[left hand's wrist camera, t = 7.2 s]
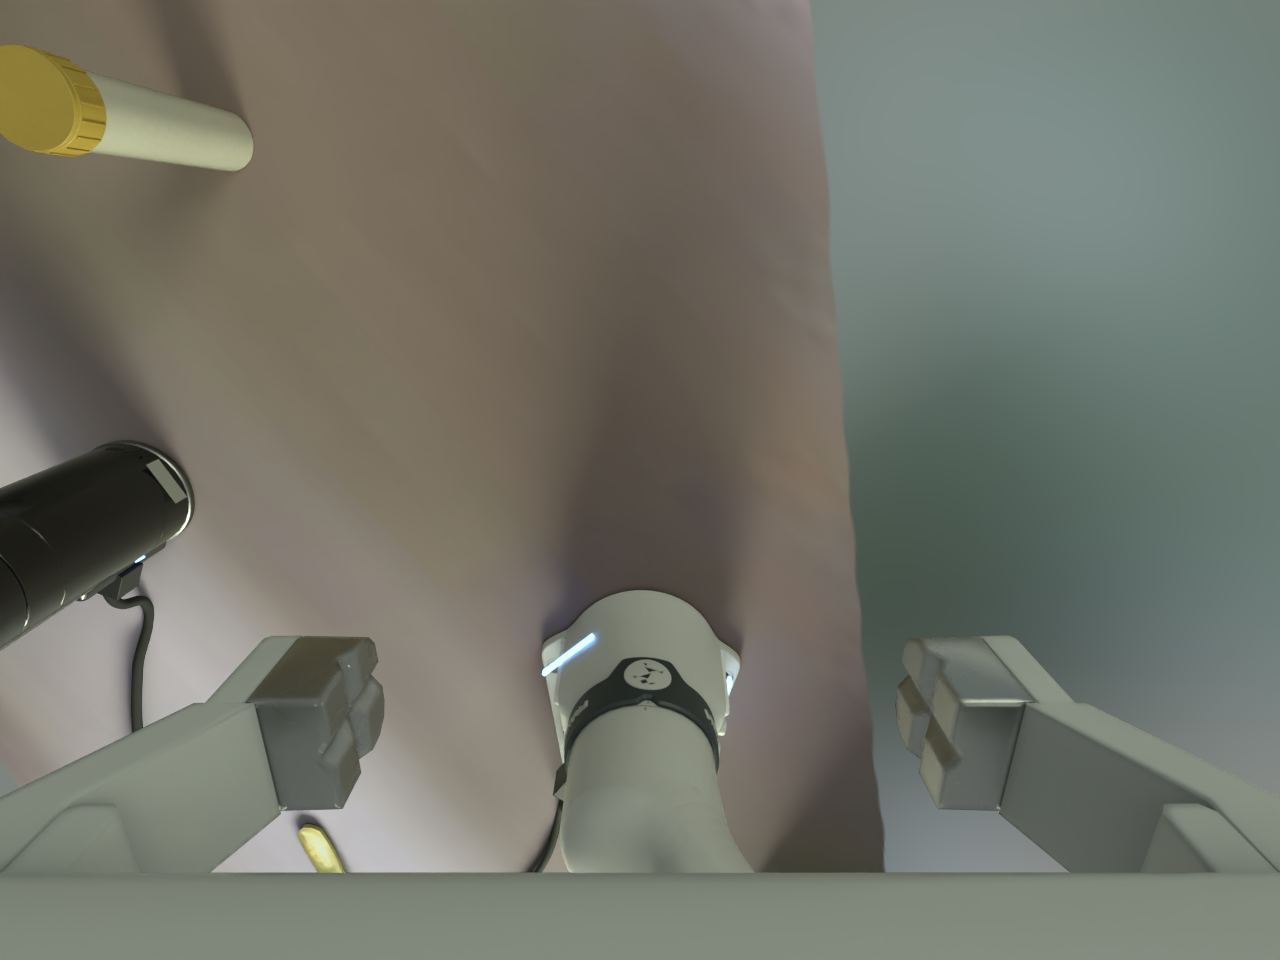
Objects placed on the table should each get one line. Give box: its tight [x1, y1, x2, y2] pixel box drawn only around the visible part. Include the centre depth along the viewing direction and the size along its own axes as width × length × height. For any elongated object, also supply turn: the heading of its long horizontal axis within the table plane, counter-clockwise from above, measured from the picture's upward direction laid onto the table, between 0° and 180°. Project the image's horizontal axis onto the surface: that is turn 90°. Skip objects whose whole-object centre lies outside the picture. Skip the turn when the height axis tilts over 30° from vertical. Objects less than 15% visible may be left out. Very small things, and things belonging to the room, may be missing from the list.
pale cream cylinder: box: [82, 69, 253, 171], centre depth 42 cm, size 4×4×17 cm
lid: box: [0, 44, 107, 157], centre depth 34 cm, size 5×5×2 cm
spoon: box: [298, 824, 345, 873], centre depth 77 cm, size 35×11×2 cm, turn 17°
